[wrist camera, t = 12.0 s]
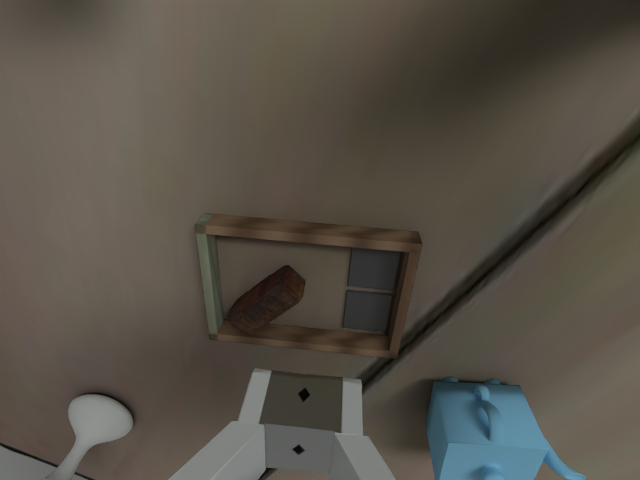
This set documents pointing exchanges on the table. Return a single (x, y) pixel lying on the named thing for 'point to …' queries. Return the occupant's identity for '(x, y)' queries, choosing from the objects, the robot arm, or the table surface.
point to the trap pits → (371, 273)
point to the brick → (267, 300)
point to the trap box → (311, 234)
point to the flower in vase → (92, 429)
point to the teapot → (486, 433)
